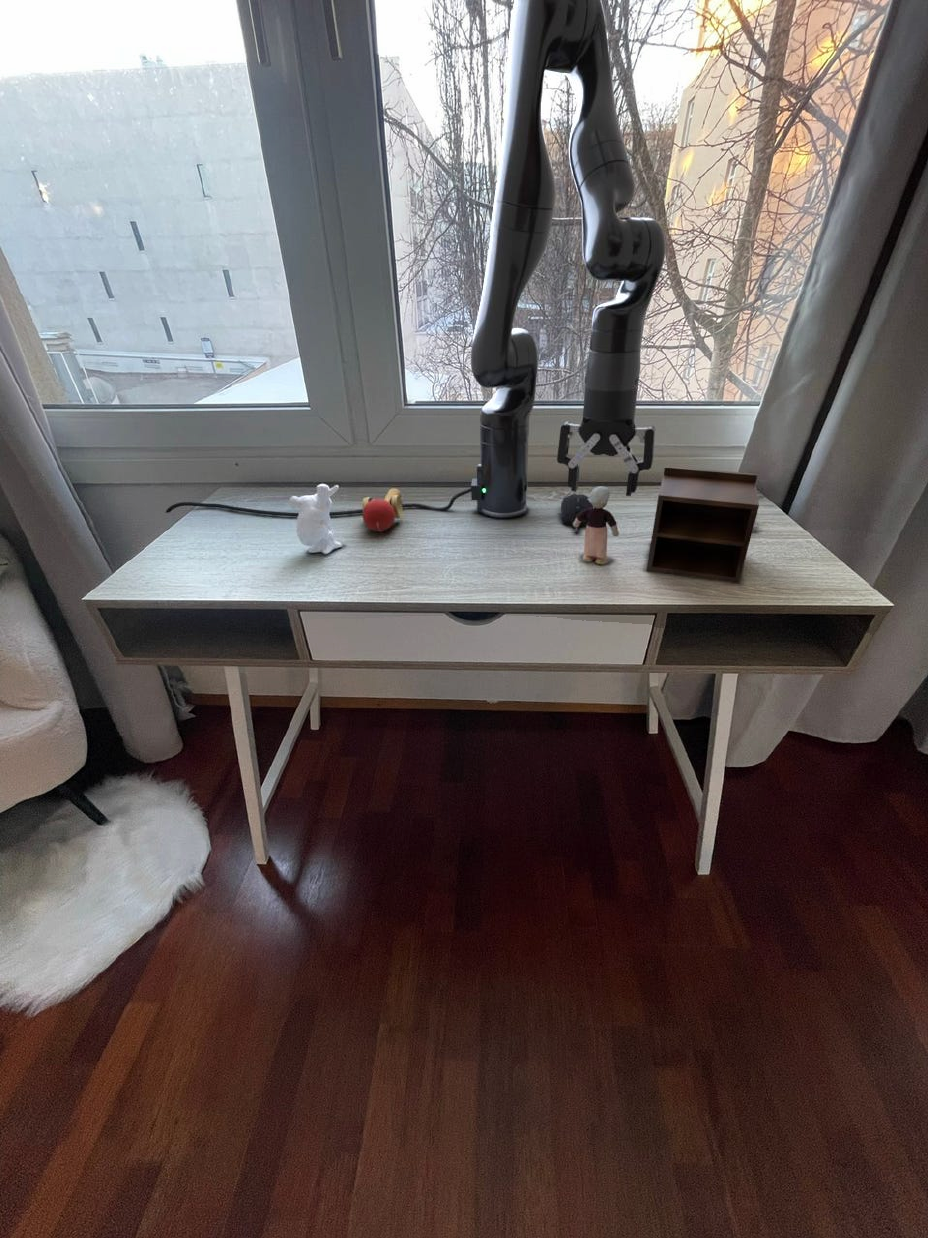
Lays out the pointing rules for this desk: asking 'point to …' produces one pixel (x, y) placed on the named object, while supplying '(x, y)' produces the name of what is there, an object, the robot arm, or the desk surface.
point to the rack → (703, 523)
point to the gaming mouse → (574, 509)
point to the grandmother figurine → (597, 526)
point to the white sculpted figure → (316, 520)
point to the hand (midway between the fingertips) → (601, 492)
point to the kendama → (382, 510)
